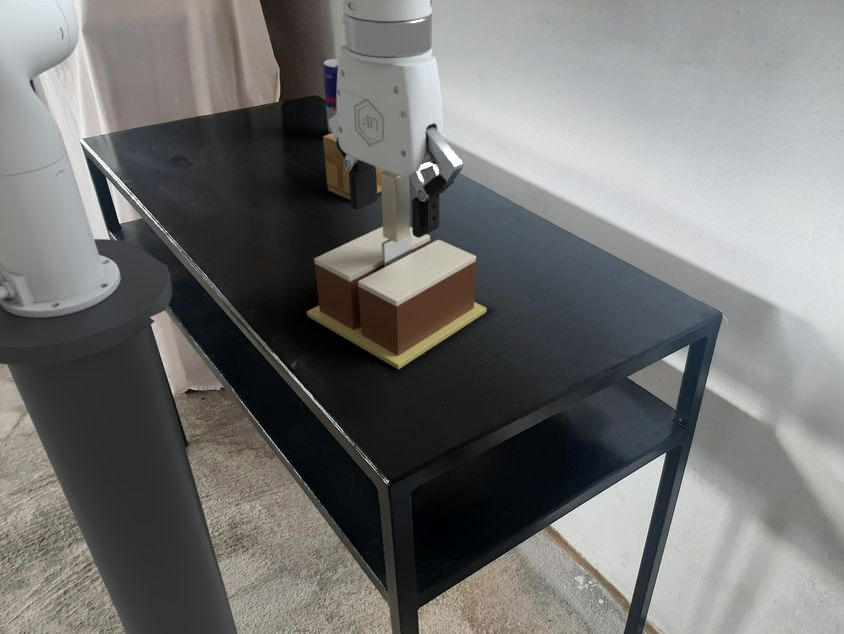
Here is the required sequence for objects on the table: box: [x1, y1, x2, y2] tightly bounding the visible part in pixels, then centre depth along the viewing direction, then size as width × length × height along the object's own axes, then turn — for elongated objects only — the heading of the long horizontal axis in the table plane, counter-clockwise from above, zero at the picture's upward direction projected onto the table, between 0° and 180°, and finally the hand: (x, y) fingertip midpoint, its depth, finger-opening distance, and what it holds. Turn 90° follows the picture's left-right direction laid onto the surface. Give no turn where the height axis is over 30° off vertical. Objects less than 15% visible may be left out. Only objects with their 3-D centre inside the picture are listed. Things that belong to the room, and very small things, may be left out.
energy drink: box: [322, 57, 339, 135], centre depth 119 cm, size 5×5×12 cm
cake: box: [306, 226, 487, 370], centre depth 78 cm, size 14×14×7 cm
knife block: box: [322, 133, 385, 201], centre depth 104 cm, size 8×6×8 cm
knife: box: [380, 171, 412, 268], centre depth 75 cm, size 4×2×16 cm, turn 140°
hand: (394, 217), depth 73 cm, fingers open, 8 cm apart
